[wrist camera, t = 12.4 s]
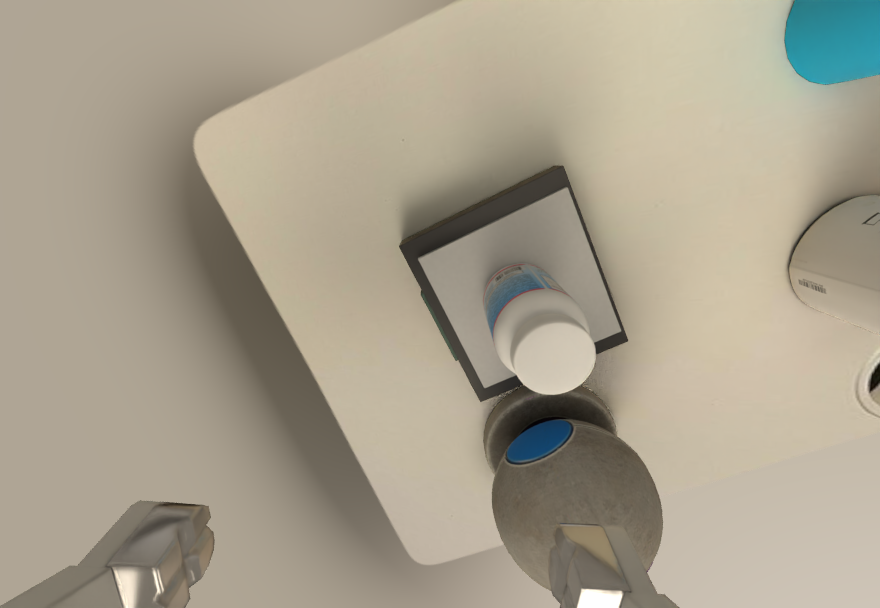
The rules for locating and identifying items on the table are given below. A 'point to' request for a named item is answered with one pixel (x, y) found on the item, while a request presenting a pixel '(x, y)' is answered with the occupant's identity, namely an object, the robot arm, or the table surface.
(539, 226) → the scale
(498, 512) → the webcam
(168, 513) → the robot arm
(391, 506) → the table surface
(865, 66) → the mug
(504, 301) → the pill bottle
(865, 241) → the speaker
